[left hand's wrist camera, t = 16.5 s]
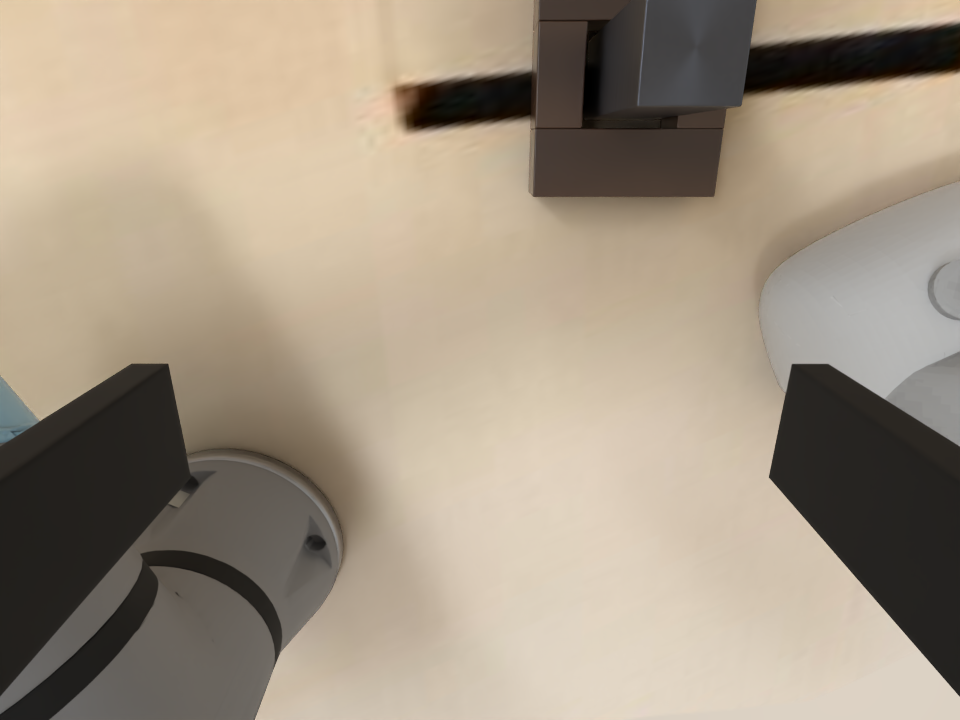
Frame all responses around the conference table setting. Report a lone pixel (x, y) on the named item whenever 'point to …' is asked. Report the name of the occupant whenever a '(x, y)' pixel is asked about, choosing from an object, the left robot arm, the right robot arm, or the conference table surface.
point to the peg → (669, 59)
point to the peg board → (605, 151)
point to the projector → (878, 307)
